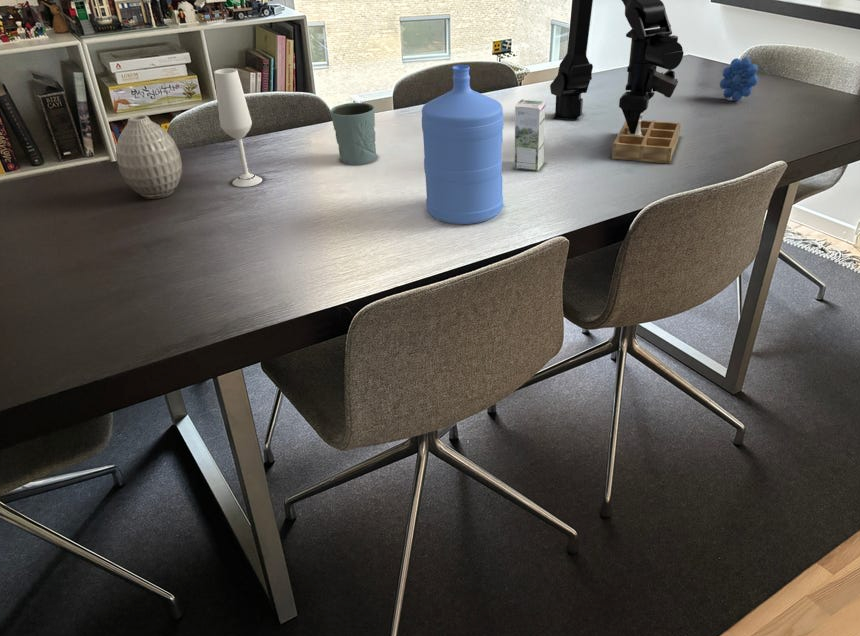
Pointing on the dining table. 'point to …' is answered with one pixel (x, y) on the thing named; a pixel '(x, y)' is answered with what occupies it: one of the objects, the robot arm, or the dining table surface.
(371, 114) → the green embossed cup
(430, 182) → the water jug
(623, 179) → the dining table surface
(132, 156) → the vase
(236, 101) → the champagne flute
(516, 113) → the syrup box
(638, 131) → the rook chess piece
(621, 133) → the rack
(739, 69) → the grapes
